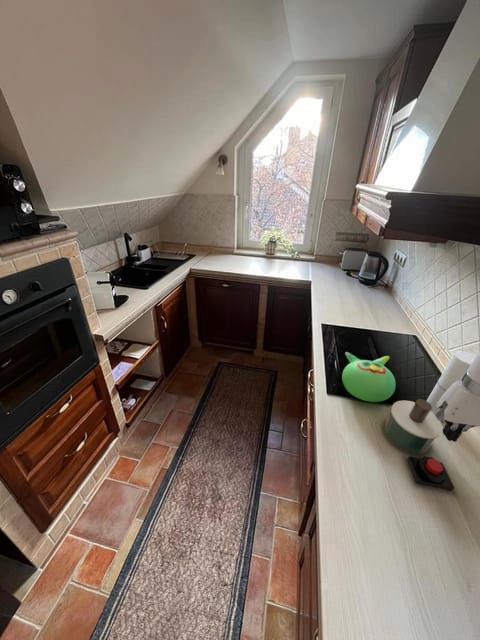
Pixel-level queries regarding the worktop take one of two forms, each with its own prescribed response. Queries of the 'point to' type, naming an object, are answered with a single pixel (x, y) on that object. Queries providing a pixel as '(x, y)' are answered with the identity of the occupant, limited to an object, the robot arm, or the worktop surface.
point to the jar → (405, 438)
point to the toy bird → (368, 379)
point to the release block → (429, 474)
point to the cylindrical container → (450, 376)
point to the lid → (417, 418)
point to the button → (433, 466)
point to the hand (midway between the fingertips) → (448, 436)
